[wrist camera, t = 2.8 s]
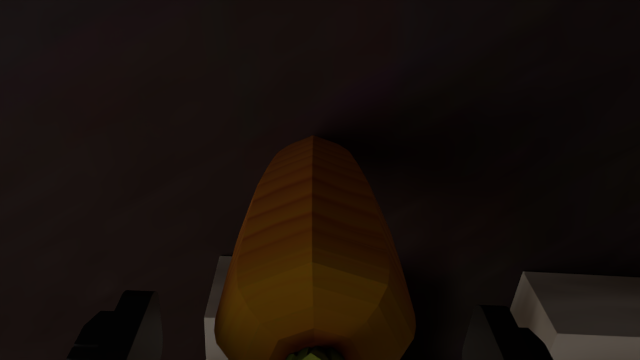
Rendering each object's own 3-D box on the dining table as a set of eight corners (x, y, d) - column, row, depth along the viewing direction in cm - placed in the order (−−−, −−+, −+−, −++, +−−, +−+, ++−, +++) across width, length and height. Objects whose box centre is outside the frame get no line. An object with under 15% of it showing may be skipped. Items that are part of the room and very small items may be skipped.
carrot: (315, 216, 23) (321, 637, 10) (229, 147, 21) (100, 548, 8) (398, 143, 21) (532, 537, 8) (311, 62, 20) (309, 398, 7)
